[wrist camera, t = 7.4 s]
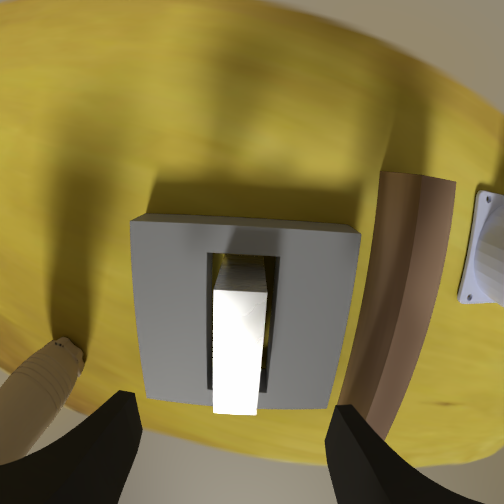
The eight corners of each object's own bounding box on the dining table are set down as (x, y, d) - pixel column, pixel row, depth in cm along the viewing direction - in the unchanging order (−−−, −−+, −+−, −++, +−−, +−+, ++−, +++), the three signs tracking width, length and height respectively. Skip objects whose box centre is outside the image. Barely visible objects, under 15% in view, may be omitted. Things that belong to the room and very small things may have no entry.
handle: (33, 315, 20) (-94, 433, 5) (103, 337, 20) (-13, 504, 5) (41, 365, 21) (-55, 485, 6) (107, 387, 21) (26, 543, 7)
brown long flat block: (409, 175, 17) (456, 181, 12) (357, 414, 22) (374, 460, 17) (379, 171, 17) (422, 175, 12) (333, 416, 22) (347, 463, 17)
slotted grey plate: (347, 224, 18) (361, 233, 15) (320, 385, 21) (326, 408, 18) (145, 213, 18) (129, 220, 15) (156, 375, 21) (146, 397, 18)
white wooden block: (263, 255, 18) (267, 292, 13) (255, 357, 20) (256, 415, 15) (224, 253, 18) (213, 289, 13) (221, 356, 20) (213, 412, 15)
